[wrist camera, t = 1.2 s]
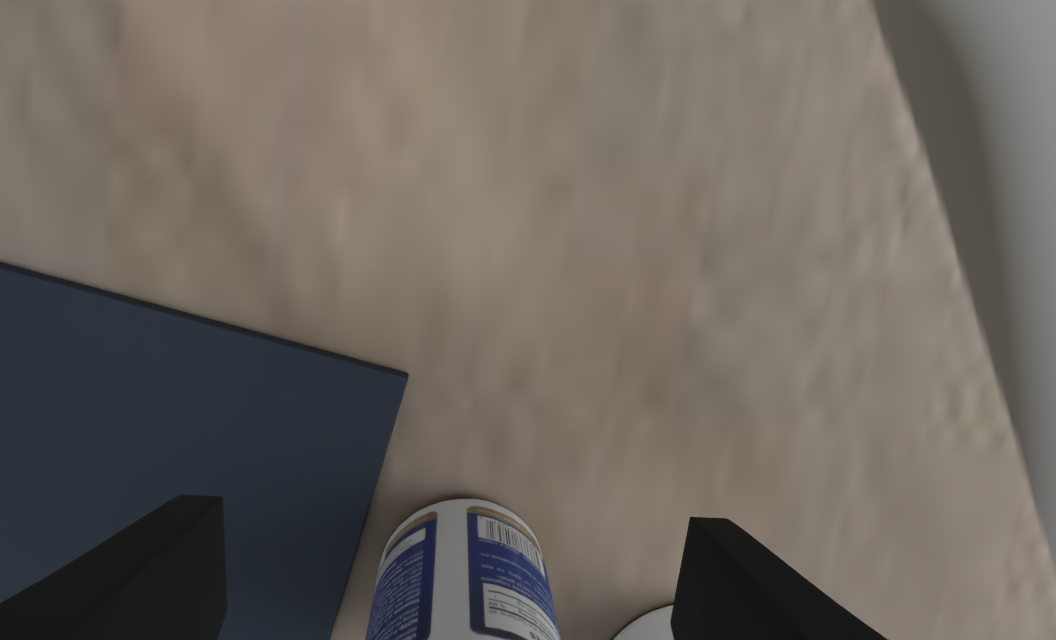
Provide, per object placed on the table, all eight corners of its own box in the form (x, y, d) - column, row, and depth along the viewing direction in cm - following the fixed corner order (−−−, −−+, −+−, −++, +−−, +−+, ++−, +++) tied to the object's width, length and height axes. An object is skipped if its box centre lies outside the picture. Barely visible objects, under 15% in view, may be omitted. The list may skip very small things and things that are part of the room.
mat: (312, 692, 23) (309, 704, 23) (-377, 565, 20) (-398, 576, 19) (409, 372, 20) (408, 378, 20) (-366, 162, 17) (-391, 162, 16)
